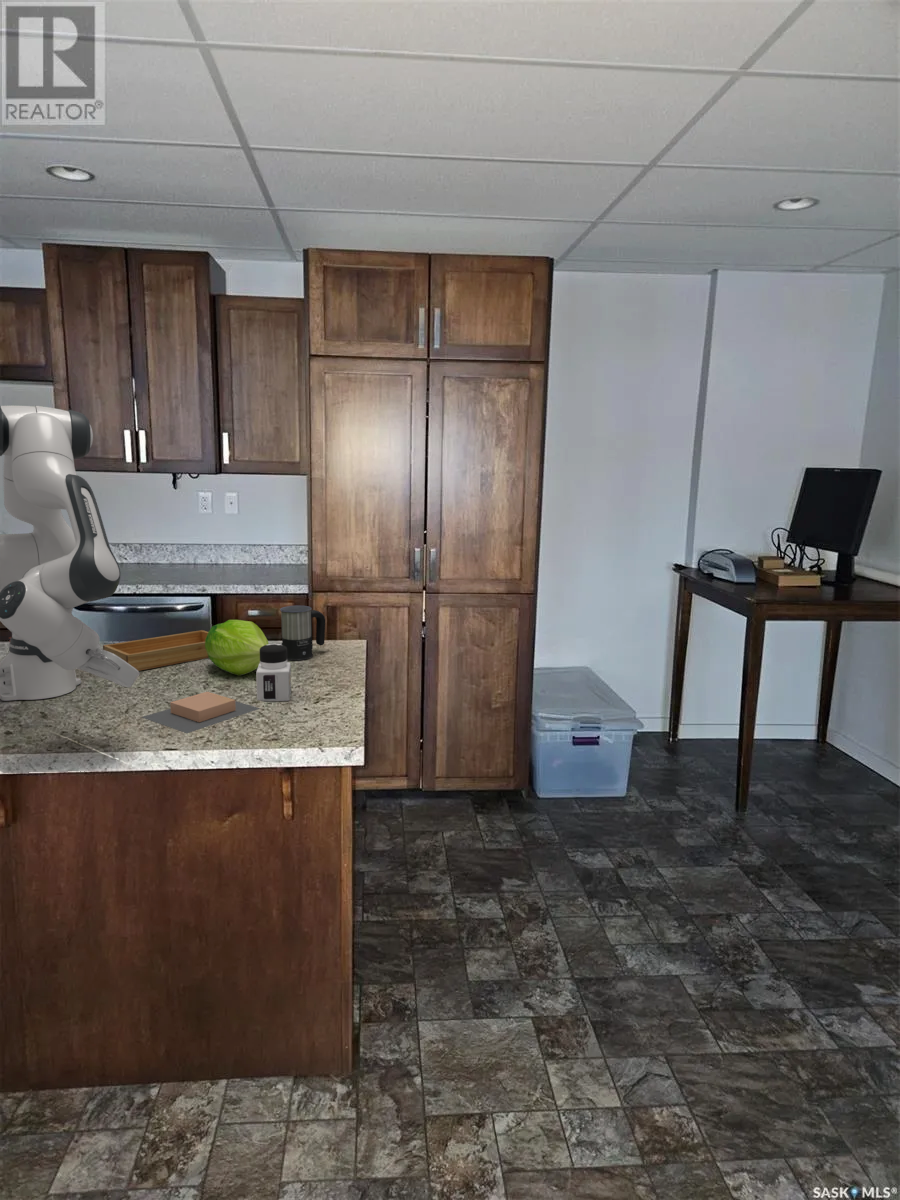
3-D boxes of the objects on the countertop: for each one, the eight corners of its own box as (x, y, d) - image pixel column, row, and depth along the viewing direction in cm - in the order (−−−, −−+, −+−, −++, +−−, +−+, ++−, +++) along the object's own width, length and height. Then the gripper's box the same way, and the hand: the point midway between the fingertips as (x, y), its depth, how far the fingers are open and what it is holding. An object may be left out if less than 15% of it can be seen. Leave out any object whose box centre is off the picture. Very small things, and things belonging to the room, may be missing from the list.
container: (289, 701, 177) (288, 649, 175) (256, 702, 176) (255, 650, 174) (291, 691, 185) (290, 641, 182) (259, 692, 184) (258, 642, 181)
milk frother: (296, 663, 211) (296, 612, 208) (258, 654, 219) (257, 605, 216) (330, 653, 223) (330, 605, 220) (292, 645, 231) (292, 598, 228)
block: (170, 702, 165) (207, 691, 173) (170, 713, 165) (207, 702, 174) (198, 711, 159) (235, 699, 168) (199, 723, 160) (235, 710, 168)
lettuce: (291, 668, 202) (246, 688, 189) (236, 654, 214) (191, 673, 202) (284, 618, 197) (238, 636, 185) (229, 607, 210) (183, 623, 198)
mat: (141, 719, 163) (141, 717, 163) (215, 696, 179) (215, 695, 179) (187, 735, 154) (186, 733, 154) (260, 710, 170) (260, 708, 170)
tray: (202, 646, 228) (202, 628, 227) (229, 655, 219) (229, 636, 218) (103, 664, 206) (102, 645, 205) (128, 675, 196) (127, 655, 195)
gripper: (115, 642, 135) (164, 680, 145) (57, 623, 147) (105, 660, 157) (94, 671, 133) (144, 707, 143) (35, 649, 144) (86, 684, 154)
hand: (123, 682), depth 150 cm, fingers closed
